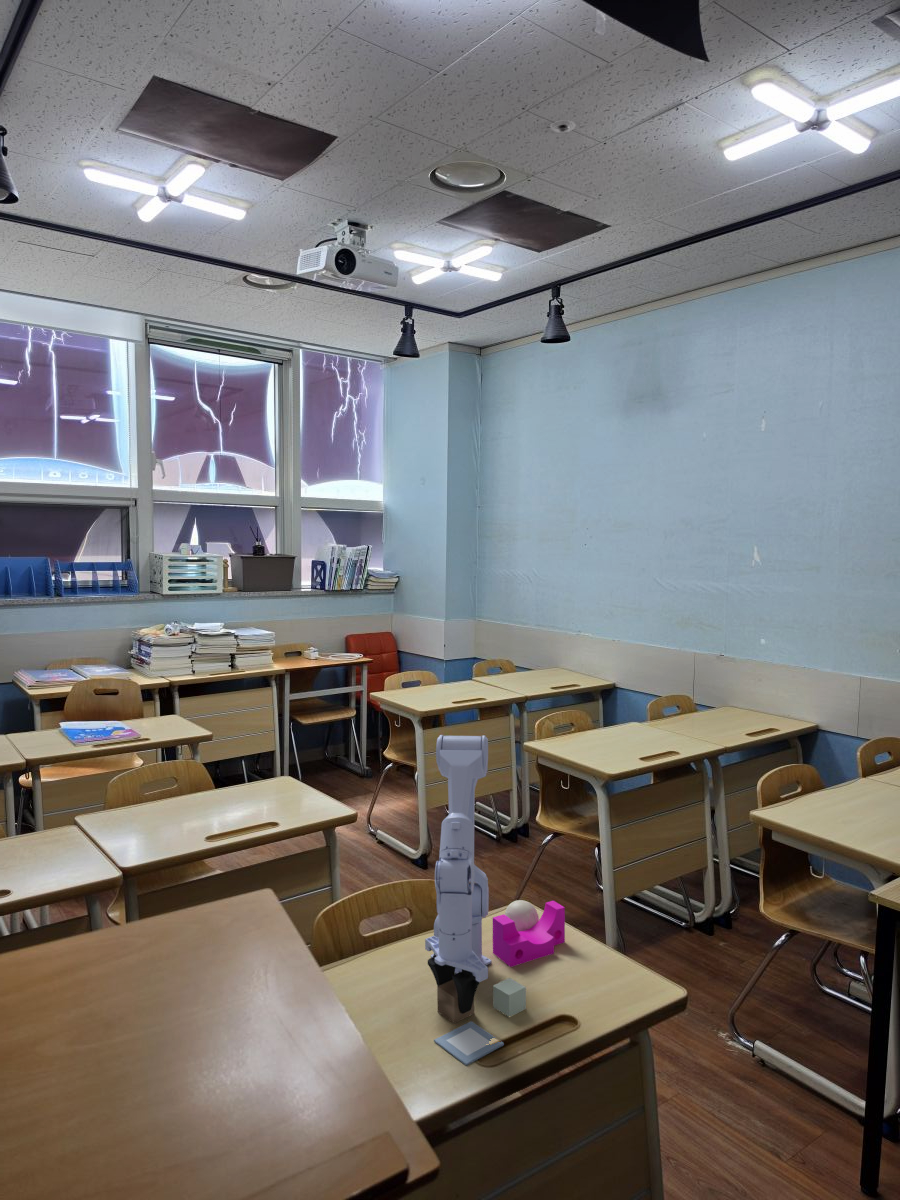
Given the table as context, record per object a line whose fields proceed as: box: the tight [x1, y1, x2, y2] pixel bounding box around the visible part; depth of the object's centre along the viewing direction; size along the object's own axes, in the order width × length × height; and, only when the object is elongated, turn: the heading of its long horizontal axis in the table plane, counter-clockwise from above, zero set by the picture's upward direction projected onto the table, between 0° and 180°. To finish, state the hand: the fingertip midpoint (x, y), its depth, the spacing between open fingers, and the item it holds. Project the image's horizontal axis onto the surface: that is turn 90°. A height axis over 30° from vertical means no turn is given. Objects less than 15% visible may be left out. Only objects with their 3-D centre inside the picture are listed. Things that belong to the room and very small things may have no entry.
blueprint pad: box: [433, 1021, 505, 1066], centre depth 128 cm, size 8×8×1 cm
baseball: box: [504, 899, 540, 931], centre depth 165 cm, size 7×7×7 cm
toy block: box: [492, 900, 566, 968], centre depth 158 cm, size 15×6×8 cm, turn 120°
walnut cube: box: [436, 980, 475, 1024], centre depth 136 cm, size 4×4×4 cm
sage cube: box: [492, 977, 527, 1017], centre depth 137 cm, size 4×4×4 cm
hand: (455, 1004), depth 136 cm, fingers closed on walnut cube, 4 cm apart
